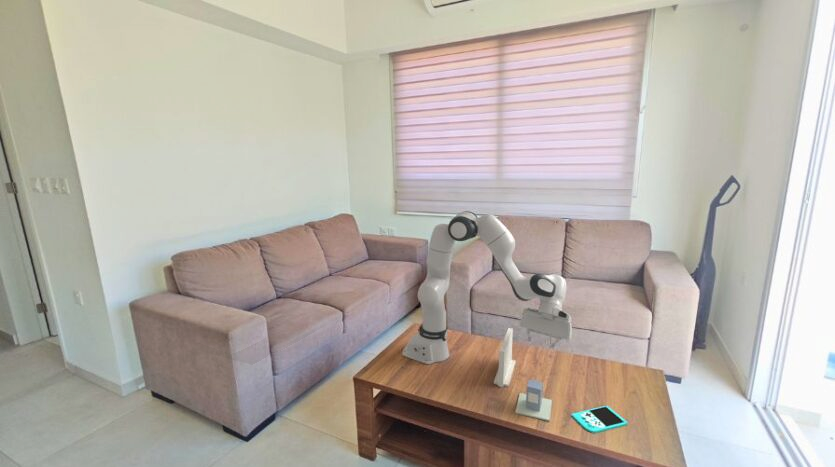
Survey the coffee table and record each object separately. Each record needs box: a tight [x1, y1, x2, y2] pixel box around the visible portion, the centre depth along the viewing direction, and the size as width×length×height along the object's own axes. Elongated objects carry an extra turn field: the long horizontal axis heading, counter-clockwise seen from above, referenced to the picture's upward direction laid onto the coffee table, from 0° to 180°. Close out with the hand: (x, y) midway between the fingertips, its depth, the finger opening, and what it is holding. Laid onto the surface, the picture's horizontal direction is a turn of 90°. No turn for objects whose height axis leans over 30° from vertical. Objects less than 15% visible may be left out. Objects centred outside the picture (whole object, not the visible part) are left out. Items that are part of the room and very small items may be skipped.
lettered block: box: [525, 378, 544, 412], centre depth 140 cm, size 5×5×9 cm
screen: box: [493, 327, 516, 388], centre depth 162 cm, size 6×22×16 cm, turn 157°
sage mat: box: [515, 392, 553, 422], centre depth 141 cm, size 12×12×1 cm
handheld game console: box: [571, 405, 628, 434], centre depth 134 cm, size 10×16×1 cm, turn 106°
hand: (540, 344), depth 150 cm, fingers open, 8 cm apart
